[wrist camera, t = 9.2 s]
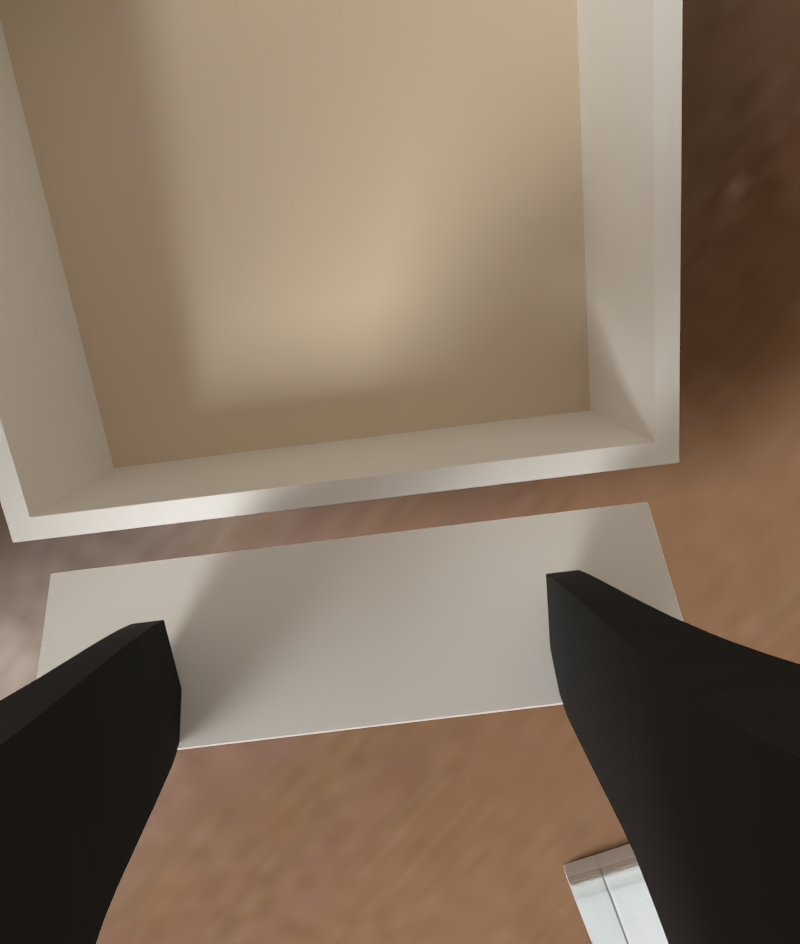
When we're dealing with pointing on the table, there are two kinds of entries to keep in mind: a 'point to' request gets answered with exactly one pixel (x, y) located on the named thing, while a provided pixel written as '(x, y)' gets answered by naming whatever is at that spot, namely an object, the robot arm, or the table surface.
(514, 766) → the table surface
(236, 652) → the flap
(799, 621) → the table surface
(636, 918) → the hard drive
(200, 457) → the carton
